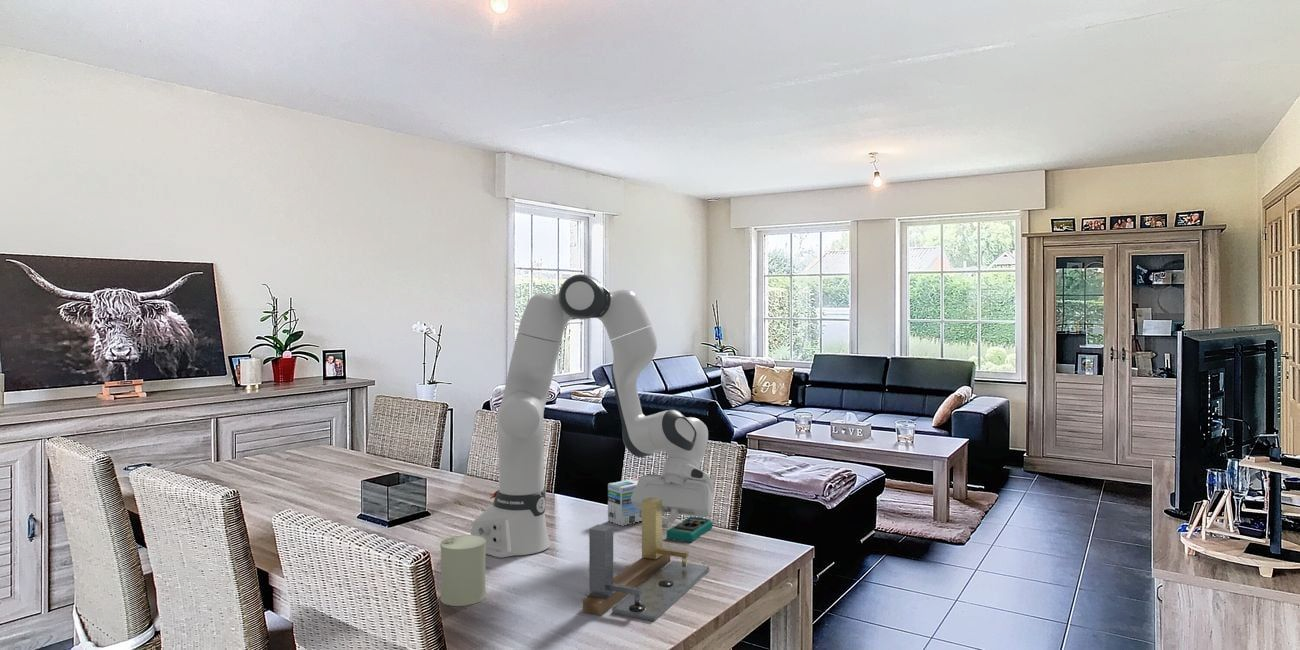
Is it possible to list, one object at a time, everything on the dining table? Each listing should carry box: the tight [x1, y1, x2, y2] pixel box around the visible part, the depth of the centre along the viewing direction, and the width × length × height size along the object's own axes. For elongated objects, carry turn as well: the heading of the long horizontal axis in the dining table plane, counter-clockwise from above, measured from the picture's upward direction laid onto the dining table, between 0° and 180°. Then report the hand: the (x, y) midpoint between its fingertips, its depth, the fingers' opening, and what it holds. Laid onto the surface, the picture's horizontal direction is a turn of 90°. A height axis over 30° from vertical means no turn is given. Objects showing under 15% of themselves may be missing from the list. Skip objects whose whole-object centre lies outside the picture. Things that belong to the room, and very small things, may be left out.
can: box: [439, 534, 487, 607], centre depth 151 cm, size 9×9×12 cm
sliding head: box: [641, 497, 689, 567], centre depth 167 cm, size 10×4×14 cm, turn 65°
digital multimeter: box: [666, 516, 713, 543], centre depth 195 cm, size 7×15×3 cm, turn 153°
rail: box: [582, 554, 671, 616], centre depth 158 cm, size 4×34×2 cm, turn 155°
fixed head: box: [585, 523, 642, 606], centre depth 145 cm, size 11×4×14 cm, turn 65°
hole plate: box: [611, 560, 710, 622], centre depth 155 cm, size 9×30×1 cm, turn 155°
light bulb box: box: [607, 478, 642, 527], centre depth 207 cm, size 11×7×11 cm, turn 131°
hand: (662, 526), depth 174 cm, fingers closed
